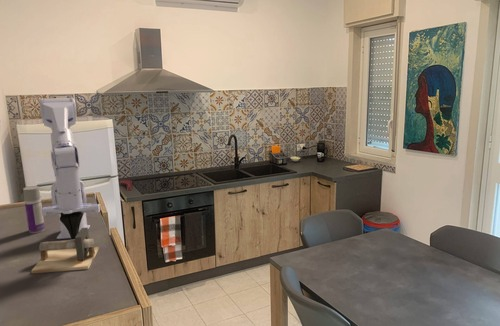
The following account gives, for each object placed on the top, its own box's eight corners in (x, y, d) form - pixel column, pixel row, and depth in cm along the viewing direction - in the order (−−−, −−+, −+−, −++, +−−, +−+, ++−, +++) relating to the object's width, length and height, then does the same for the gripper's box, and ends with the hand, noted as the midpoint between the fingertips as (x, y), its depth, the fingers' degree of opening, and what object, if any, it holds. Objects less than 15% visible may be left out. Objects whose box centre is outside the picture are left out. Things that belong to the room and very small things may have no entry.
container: (26, 231, 123) (19, 188, 120) (39, 226, 127) (33, 185, 124) (34, 234, 121) (28, 190, 117) (48, 229, 125) (42, 186, 121)
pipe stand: (48, 252, 108) (46, 234, 106) (98, 249, 110) (96, 230, 108) (31, 273, 96) (28, 252, 95) (88, 268, 98) (85, 248, 97)
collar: (84, 249, 107) (81, 227, 105) (90, 249, 107) (87, 227, 106) (77, 260, 100) (74, 237, 99) (83, 260, 101) (81, 237, 99)
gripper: (34, 197, 94) (41, 246, 97) (93, 193, 97) (98, 241, 100) (44, 189, 101) (51, 235, 104) (100, 186, 103) (104, 231, 106)
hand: (74, 237), depth 102 cm, fingers closed
